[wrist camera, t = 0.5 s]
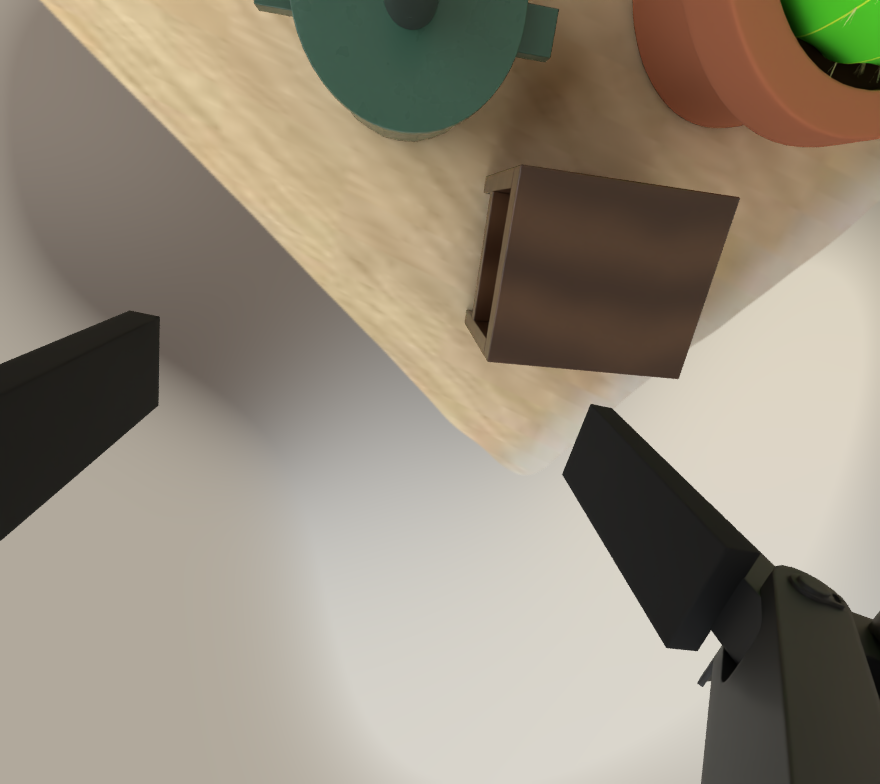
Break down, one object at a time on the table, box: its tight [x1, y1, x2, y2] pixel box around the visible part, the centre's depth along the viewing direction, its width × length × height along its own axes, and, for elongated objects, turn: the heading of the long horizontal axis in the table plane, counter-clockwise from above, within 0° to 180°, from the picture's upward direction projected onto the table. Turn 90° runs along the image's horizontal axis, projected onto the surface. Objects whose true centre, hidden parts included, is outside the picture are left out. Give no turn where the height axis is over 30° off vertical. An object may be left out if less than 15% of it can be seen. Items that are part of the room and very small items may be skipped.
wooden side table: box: [465, 165, 740, 379], centre depth 34 cm, size 12×14×11 cm
